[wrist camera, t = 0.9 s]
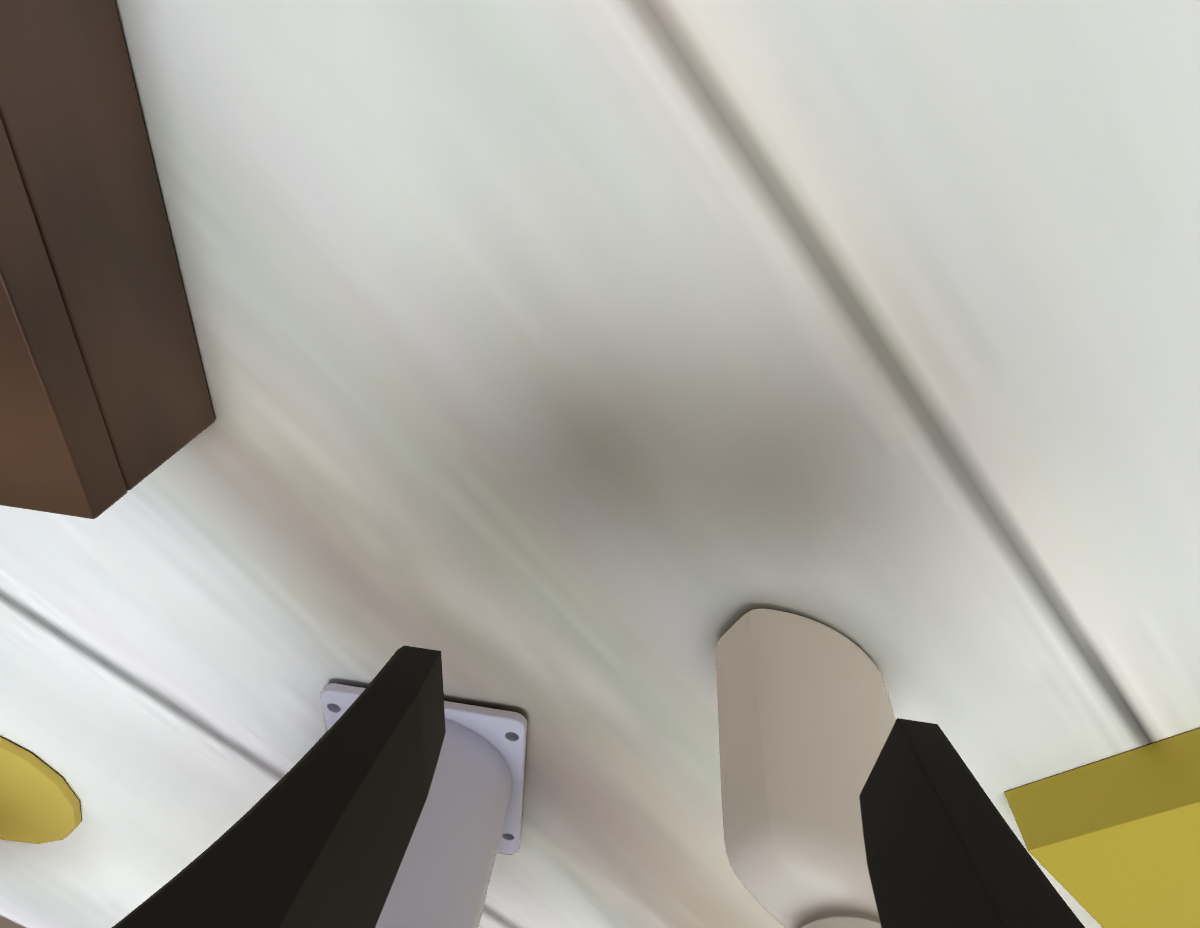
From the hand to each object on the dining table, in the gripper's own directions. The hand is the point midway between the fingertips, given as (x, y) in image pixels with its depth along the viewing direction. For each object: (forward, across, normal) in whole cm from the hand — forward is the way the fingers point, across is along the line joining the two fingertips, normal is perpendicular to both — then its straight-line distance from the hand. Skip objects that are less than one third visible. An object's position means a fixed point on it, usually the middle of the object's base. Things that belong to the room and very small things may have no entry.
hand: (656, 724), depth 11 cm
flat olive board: (+10, -27, +17) cm, 34 cm away
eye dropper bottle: (+10, -5, +8) cm, 14 cm away
